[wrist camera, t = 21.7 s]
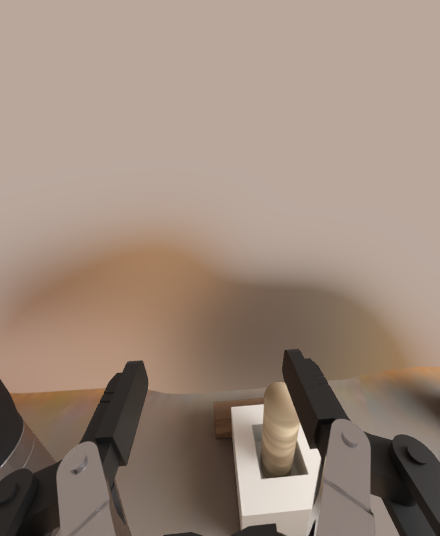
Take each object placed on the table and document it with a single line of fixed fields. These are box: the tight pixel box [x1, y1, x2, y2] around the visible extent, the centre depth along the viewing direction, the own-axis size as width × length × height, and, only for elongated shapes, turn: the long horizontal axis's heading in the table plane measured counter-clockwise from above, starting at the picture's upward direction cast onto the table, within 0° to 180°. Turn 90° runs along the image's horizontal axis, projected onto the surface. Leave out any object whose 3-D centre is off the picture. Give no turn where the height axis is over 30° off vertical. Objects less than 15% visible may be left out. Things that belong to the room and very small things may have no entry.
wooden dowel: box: [261, 382, 300, 479], centre depth 27 cm, size 4×4×16 cm
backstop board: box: [214, 398, 264, 439], centre depth 38 cm, size 3×18×6 cm, turn 93°
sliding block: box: [231, 404, 321, 536], centre depth 31 cm, size 12×12×9 cm
